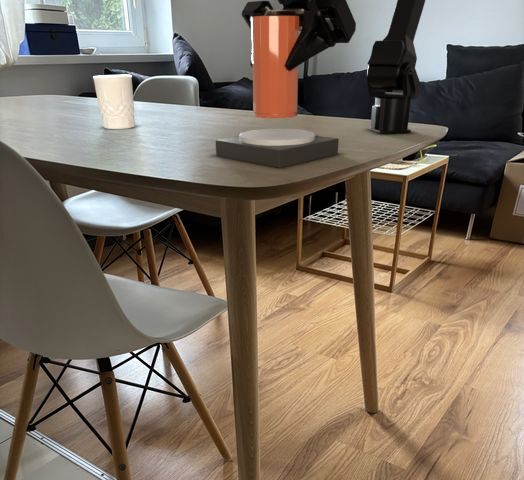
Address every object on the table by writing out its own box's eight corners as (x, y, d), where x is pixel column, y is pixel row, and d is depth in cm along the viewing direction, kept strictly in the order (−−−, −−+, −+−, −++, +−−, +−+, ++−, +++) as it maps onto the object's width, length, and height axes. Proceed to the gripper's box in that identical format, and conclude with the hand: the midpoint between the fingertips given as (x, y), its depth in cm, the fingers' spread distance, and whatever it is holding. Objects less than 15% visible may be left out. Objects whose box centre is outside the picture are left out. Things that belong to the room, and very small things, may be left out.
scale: (274, 144, 91) (274, 125, 89) (337, 154, 83) (339, 133, 81) (216, 155, 83) (215, 134, 81) (279, 167, 74) (279, 144, 72)
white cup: (133, 129, 109) (126, 76, 104) (96, 129, 109) (87, 77, 104) (141, 124, 116) (135, 74, 111) (107, 124, 116) (99, 75, 111)
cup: (266, 112, 84) (265, 17, 77) (304, 114, 81) (306, 16, 74) (245, 117, 79) (243, 16, 72) (285, 119, 76) (286, 15, 69)
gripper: (248, -64, 76) (196, 24, 75) (350, -84, 64) (290, 19, 64) (284, 2, 85) (237, 81, 84) (379, -5, 73) (326, 86, 72)
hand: (269, 67), depth 76 cm, fingers closed on cup, 7 cm apart
